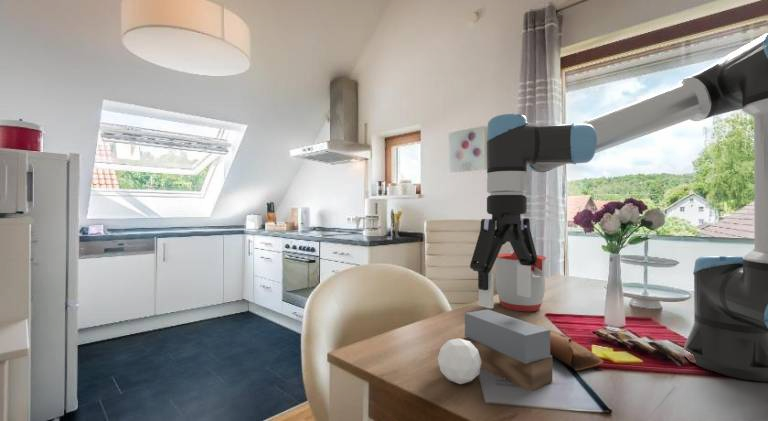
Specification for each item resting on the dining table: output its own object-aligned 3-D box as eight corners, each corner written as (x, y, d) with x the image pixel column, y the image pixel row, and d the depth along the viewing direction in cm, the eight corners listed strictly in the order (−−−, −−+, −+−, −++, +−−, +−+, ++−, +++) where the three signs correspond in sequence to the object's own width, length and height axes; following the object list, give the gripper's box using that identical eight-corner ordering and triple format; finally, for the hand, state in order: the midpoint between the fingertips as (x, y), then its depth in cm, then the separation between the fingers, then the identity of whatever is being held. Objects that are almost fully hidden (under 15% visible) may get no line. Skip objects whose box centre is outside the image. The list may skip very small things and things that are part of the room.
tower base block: (552, 382, 68) (552, 355, 68) (531, 392, 64) (531, 364, 64) (483, 354, 81) (483, 332, 81) (463, 361, 77) (463, 338, 77)
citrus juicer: (514, 317, 108) (515, 250, 108) (486, 303, 125) (486, 244, 125) (561, 314, 111) (561, 249, 111) (527, 300, 128) (527, 244, 128)
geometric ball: (452, 369, 73) (452, 329, 73) (489, 382, 67) (489, 339, 67) (429, 382, 67) (429, 338, 67) (467, 397, 62) (467, 350, 62)
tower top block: (550, 356, 67) (550, 329, 67) (525, 363, 64) (525, 335, 64) (487, 331, 81) (487, 309, 81) (464, 336, 78) (464, 313, 78)
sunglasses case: (608, 360, 73) (591, 336, 72) (584, 385, 72) (567, 360, 71) (548, 331, 91) (533, 311, 90) (528, 350, 89) (513, 330, 88)
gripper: (521, 196, 83) (521, 289, 83) (450, 193, 67) (450, 307, 67) (554, 195, 77) (554, 295, 77) (485, 191, 61) (485, 316, 61)
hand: (506, 301), depth 72 cm, fingers open, 13 cm apart
